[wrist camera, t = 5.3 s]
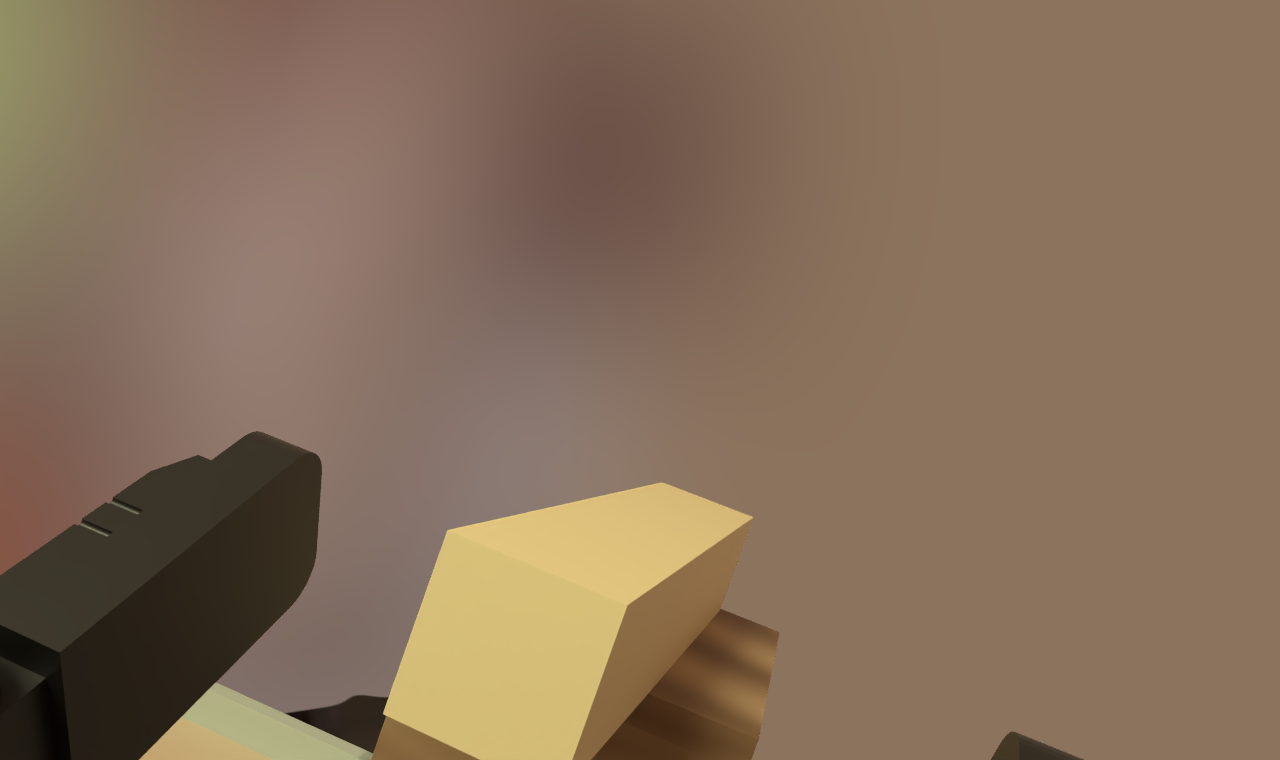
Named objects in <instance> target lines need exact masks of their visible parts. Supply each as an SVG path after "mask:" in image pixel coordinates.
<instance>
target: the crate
mask: <svg viewBox="0 0 1280 760" xmlns="http://www.w3.org/2000/svg"><path fill="white" fill-rule="evenodd" d="M372 756H373V754H372V753H370V752H368V751H366V750H364V749H361V748H359V747H357V746H355V745H353V744H350V743H348V742H346V741H344V740H341V739H339V738H337V737H335V736H333V735H330V734H328V733H326V732H324V731H322V730H319V729H317V728H315V727H313V726H311V725H308V724H306V723H304V722H302V721H299V720H297V719H295V718H293V717H291V716H288V715H286V714H284V713H282V712H280V711H277V710H275V709H273V708H271V707H269V706H266V705H264V704H262V703H260V702H257V701H255V700H253V699H251V698H248V697H246V696H244V695H242V694H240V693H238V692H235V691H233V690H231V689H229V688H226V687H224V686H222V685H220V684H218V683H215V684H214V685H213V686H212V687H211V688H210V689H209V690H208V691H207V692H206V693H205V694H204V695H203V696H202V697H201V698H200V699H199V700H198V701H197V702H196V703H195V704H194V705H193V706H192V707H191V708H190V709H189V710H188V711H187V712H186V713H185V714H184V715H183V716H182V717H181V718H180V719H179V720H178V721H177V722H176V723H175V724H174V725H173V726H172V727H171V728H170V729H169V730H168V731H167V732H166V733H165V734H164V735H163V736H162V737H161V738H160V739H159V740H158V741H157V742H156V743H155V744H154V745H153V746H152V747H151V748H150V749H149V750H148V751H147V752H146V753H145V754H144V755H143V756H142V757H141V758H140V759H139V760H371V759H372Z"/></svg>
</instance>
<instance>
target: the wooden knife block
mask: <svg viewBox="0 0 1280 760" xmlns="http://www.w3.org/2000/svg"><path fill="white" fill-rule="evenodd" d="M778 636H779V632H777V631H774V630H772V629H770V628H767V627H765V626H762V625H760V624H757V623H755V622H752V621H750V620H747V619H744V618H742V617H740V616H737V615H735V614H732V613H730V612H727V611H724V610H722V609H720V611H719V612H718V613H717V614H716V615H715V617H714V618H713V619H712V620H711V621H710V622H709V624H708V625H707V626H706V627H705V628H704V629H703V631H702V632H701V633H700V634H699V635H698V636H697V638H696V639H695V640H694V641H693V642H692V643H691V644H690V646H689V647H688V648H687V649H686V650H685V651H684V653H683V654H682V655H681V656H680V657H679V658H678V660H677V661H676V662H675V663H674V664H673V665H672V667H671V668H670V669H669V670H668V671H667V672H666V673H665V675H664V676H663V677H662V678H661V679H660V680H659V682H658V683H657V684H656V685H655V686H654V687H653V689H652V690H651V691H650V692H649V693H648V694H647V696H646V697H645V698H644V699H643V700H642V701H641V702H640V704H639V705H638V706H637V707H636V708H635V709H634V711H633V712H632V713H631V714H630V715H629V716H628V718H627V719H626V720H625V721H624V722H623V723H622V725H621V726H620V727H619V728H618V729H617V730H616V731H615V733H614V734H613V735H612V736H611V737H610V738H609V740H608V741H607V742H606V743H605V744H604V745H603V747H602V748H601V749H600V750H599V751H598V752H597V754H596V755H595V756H594V757H593V758H592V759H591V760H751V759H752V756H753V754H754V751H755V748H756V745H757V742H758V739H759V735H760V729H761V724H762V719H763V714H764V708H765V703H766V698H767V693H768V687H769V683H770V678H771V672H772V667H773V662H774V657H775V652H776V647H777V642H778ZM371 760H479V759H477V758H475V757H473V756H471V755H469V754H467V753H465V752H462V751H460V750H458V749H456V748H454V747H452V746H450V745H448V744H445V743H443V742H441V741H439V740H437V739H435V738H433V737H431V736H428V735H426V734H424V733H422V732H420V731H418V730H416V729H414V728H411V727H409V726H407V725H405V724H403V723H401V722H399V721H397V720H394V719H392V718H390V717H388V716H386V719H385V722H384V724H383V727H382V730H381V733H380V736H379V739H378V742H377V744H376V747H375V750H374V753H373V756H372V759H371Z"/></svg>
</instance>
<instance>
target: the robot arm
mask: <svg viewBox="0 0 1280 760" xmlns="http://www.w3.org/2000/svg"><path fill="white" fill-rule="evenodd" d="M321 476H322V465H321V461H320V458H319V457H318V456H317V455H316V454H315V453H312V452H310V451H307V450H305V449H302V448H300V447H298V446H295V445H292V444H290V443H288V442H285V441H283V440H280V439H278V438H275V437H273V436H270V435H268V434H265V433H263V432H258V431H257V432H252V433H249V434H247V435H246V436H244V437H243V438H241V439H240V440H239V441H237V442H236V443H235V444H233V445H232V446H230V447H229V448H228V449H226V450H225V451H224V452H222V453H221V454H219V455H218V456H217V457H215V458H214V459H213V460H209V459H206V458H204V457H202V456H199V455H197V456H194V457H191V458H189V459H185V460H182V461H179V462H177V463H174V464H171V465H168V466H165V467H162V468H159V469H156V470H153V471H150V472H149V473H147V474H146V475H145V476H144V477H142V478H140V479H139V480H137V481H136V482H134V483H133V484H132V485H130V486H129V487H127V488H126V489H124V490H123V491H121V492H120V493H119V494H117V495H116V496H114V497H113V500H112V502H111V503H110V504H108V503H104V504H103V505H101V506H100V507H98V508H97V509H96V510H94V511H93V512H91V513H90V514H88V515H87V516H85V517H84V518H83V519H82V522H81V524H80V525H78V526H77V525H75V524H74V525H72V526H71V527H69V528H68V529H67V530H65V531H64V532H62V533H61V534H59V535H58V536H57V537H55V538H54V539H52V540H51V541H49V542H48V543H46V544H45V545H44V546H42V547H41V548H40V549H38V550H36V551H35V552H33V553H32V554H31V555H29V556H28V557H26V558H25V559H23V560H22V561H20V562H19V563H18V564H16V565H15V566H13V567H12V568H10V569H9V570H7V571H6V572H5V573H4V574H2V575H0V760H139V759H140V758H141V757H142V756H143V755H144V754H145V753H146V752H147V751H148V750H149V749H150V748H151V747H152V746H153V745H154V744H155V743H156V742H157V741H158V740H159V739H160V738H161V737H162V736H163V735H164V734H165V733H166V732H167V731H168V730H169V729H170V728H171V727H172V726H173V725H174V724H175V723H176V722H177V721H178V720H179V719H180V718H181V717H182V716H183V715H184V714H185V713H186V712H187V711H188V710H189V709H190V708H191V707H192V706H193V705H194V704H195V703H196V702H197V701H198V700H199V699H200V698H201V697H202V696H203V695H204V694H205V693H206V692H207V691H208V690H209V689H210V688H211V687H212V686H213V685H214V684H215V683H216V682H217V681H218V680H219V678H221V677H222V675H224V673H225V672H226V671H227V670H228V669H229V668H230V667H231V666H232V665H233V664H234V663H235V662H236V661H237V660H238V659H239V658H240V657H241V656H242V655H243V654H244V653H245V652H246V651H247V650H248V649H249V648H250V647H251V646H252V645H253V644H254V643H255V642H256V641H257V640H258V639H259V638H260V637H261V636H262V635H263V634H264V633H265V632H266V631H267V630H268V629H269V628H270V627H271V626H272V625H273V624H274V623H275V622H276V621H277V620H278V619H279V618H280V617H281V616H282V615H283V614H284V613H285V612H286V611H287V610H288V609H289V608H290V607H291V606H292V605H293V603H294V602H295V601H296V600H297V598H298V597H299V595H300V594H301V592H302V591H303V589H304V587H305V586H306V584H307V582H308V579H309V577H310V575H311V572H312V569H313V567H314V563H315V558H316V551H317V537H318V521H319V506H320V491H321ZM991 760H1083V759H1081V758H1078V757H1076V756H1073V755H1071V754H1068V753H1066V752H1063V751H1061V750H1058V749H1056V748H1053V747H1051V746H1048V745H1046V744H1043V743H1041V742H1038V741H1036V740H1033V739H1031V738H1029V737H1026V736H1023V735H1021V734H1019V733H1016V732H1010V733H1009V734H1007V736H1005V738H1004V739H1003V740H1002V742H1001V743H1000V745H999V747H998V749H997V750H996V752H995V754H994V756H993V757H992V759H991Z"/></svg>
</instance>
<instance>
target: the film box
mask: <svg viewBox="0 0 1280 760" xmlns="http://www.w3.org/2000/svg"><path fill="white" fill-rule="evenodd" d="M752 520H753V517H751V516H749V515H746V514H743V513H741V512H738V511H736V510H733V509H730V508H728V507H725V506H723V505H720V504H717V503H715V502H712V501H710V500H707V499H704V498H702V497H699V496H697V495H694V494H691V493H689V492H686V491H684V490H681V489H678V488H676V487H673V486H671V485H668V484H665V483H663V482H662V483H657V484H653V485H648V486H644V487H639V488H635V489H630V490H626V491H621V492H617V493H612V494H608V495H603V496H599V497H594V498H590V499H585V500H581V501H577V502H572V503H568V504H563V505H559V506H554V507H550V508H545V509H540V510H536V511H532V512H527V513H523V514H518V515H514V516H509V517H505V518H500V519H496V520H492V521H487V522H482V523H478V524H473V525H469V526H464V527H460V528H455V529H451V530H448V531H447V534H446V536H445V539H444V542H443V545H442V548H441V551H440V553H439V556H438V559H437V562H436V565H435V568H434V570H433V573H432V576H431V579H430V582H429V585H428V587H427V591H426V593H425V596H424V599H423V602H422V605H421V607H420V610H419V613H418V616H417V619H416V622H415V625H414V627H413V630H412V633H411V636H410V639H409V641H408V645H407V647H406V650H405V653H404V656H403V659H402V661H401V664H400V667H399V670H398V673H397V676H396V678H395V681H394V684H393V687H392V690H391V693H390V695H389V698H388V701H387V704H386V707H385V710H384V712H383V714H384V715H386V716H388V717H390V718H392V719H394V720H397V721H399V722H401V723H403V724H405V725H407V726H409V727H411V728H414V729H416V730H418V731H420V732H422V733H424V734H426V735H428V736H431V737H433V738H435V739H437V740H439V741H441V742H443V743H445V744H448V745H450V746H452V747H454V748H456V749H458V750H460V751H462V752H465V753H467V754H469V755H471V756H473V757H475V758H477V759H479V760H591V759H592V758H593V757H594V756H595V755H596V754H597V752H598V751H599V750H600V749H601V748H602V747H603V745H604V744H605V743H606V742H607V741H608V740H609V738H610V737H611V736H612V735H613V734H614V733H615V731H616V730H617V729H618V728H619V727H620V726H621V725H622V723H623V722H624V721H625V720H626V719H627V718H628V716H629V715H630V714H631V713H632V712H633V711H634V709H635V708H636V707H637V706H638V705H639V704H640V702H641V701H642V700H643V699H644V698H645V697H646V696H647V694H648V693H649V692H650V691H651V690H652V689H653V687H654V686H655V685H656V684H657V683H658V682H659V680H660V679H661V678H662V677H663V676H664V675H665V673H666V672H667V671H668V670H669V669H670V668H671V667H672V665H673V664H674V663H675V662H676V661H677V660H678V658H679V657H680V656H681V655H682V654H683V653H684V651H685V650H686V649H687V648H688V647H689V646H690V644H691V643H692V642H693V641H694V640H695V639H696V638H697V636H698V635H699V634H700V633H701V632H702V631H703V629H704V628H705V627H706V626H707V625H708V624H709V622H710V621H711V620H712V619H713V618H714V617H715V615H716V614H717V613H718V612H719V611H720V609H721V606H722V604H723V601H724V598H725V595H726V592H727V590H728V587H729V584H730V581H731V578H732V576H733V573H734V570H735V567H736V565H737V562H738V559H739V556H740V553H741V551H742V548H743V545H744V542H745V540H746V537H747V534H748V531H749V528H750V526H751V523H752Z"/></svg>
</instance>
